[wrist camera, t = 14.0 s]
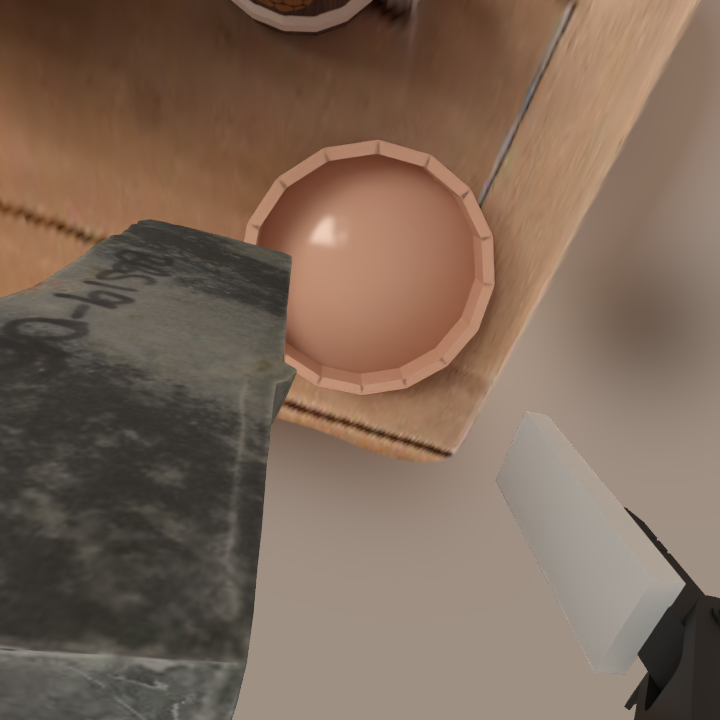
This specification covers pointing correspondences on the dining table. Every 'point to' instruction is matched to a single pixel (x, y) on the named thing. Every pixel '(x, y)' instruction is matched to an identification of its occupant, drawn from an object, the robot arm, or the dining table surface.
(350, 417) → the dining table surface
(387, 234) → the dish
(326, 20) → the mug
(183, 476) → the stone block
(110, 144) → the dining table surface
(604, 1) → the dining table surface
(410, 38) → the dining table surface
